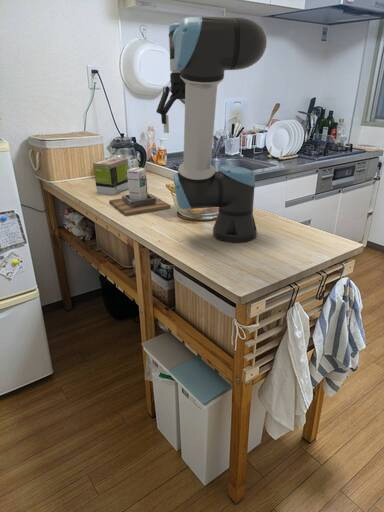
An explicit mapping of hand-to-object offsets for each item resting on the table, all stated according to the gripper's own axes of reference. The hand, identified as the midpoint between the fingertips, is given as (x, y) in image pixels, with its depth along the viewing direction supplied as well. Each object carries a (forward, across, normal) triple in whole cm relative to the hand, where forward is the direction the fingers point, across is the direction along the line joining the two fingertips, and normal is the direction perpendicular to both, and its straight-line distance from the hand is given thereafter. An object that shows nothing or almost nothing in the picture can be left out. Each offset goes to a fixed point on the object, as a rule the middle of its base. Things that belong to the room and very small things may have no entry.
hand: (181, 131), depth 149 cm
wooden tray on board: (+30, +16, -11) cm, 36 cm away
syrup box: (+29, +16, -10) cm, 35 cm away
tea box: (+30, +15, -41) cm, 53 cm away
